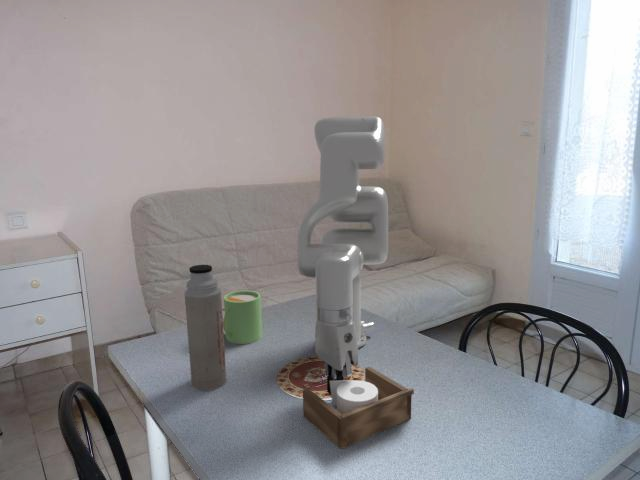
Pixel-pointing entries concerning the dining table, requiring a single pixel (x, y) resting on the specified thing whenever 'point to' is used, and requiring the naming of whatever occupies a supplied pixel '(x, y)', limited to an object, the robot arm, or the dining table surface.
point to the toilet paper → (352, 394)
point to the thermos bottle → (205, 329)
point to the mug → (242, 317)
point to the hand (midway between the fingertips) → (335, 392)
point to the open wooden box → (360, 412)
